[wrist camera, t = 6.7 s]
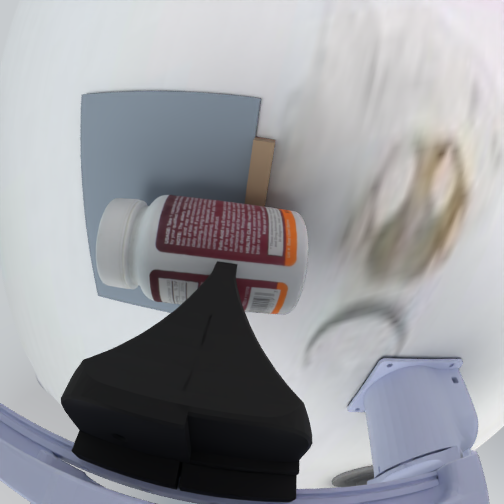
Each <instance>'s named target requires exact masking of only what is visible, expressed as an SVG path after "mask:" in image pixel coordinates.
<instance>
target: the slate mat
mask: <svg viewBox="0 0 504 504" xmlns="http://www.w3.org/2000/svg"><path fill="white" fill-rule="evenodd" d="M260 102H261V98H254V97H246V96H237V95H227V94H215V93H201V92H180V91H128V92H108V93H94V94H83V95H82V100H81V171H82V188H83V200H84V210H85V220H86V228H87V236H88V243H89V249H90V256H91V262H92V267H93V273H94V278H95V283H96V288H97V293H98V296H101V297H105V298H109V299H113V300H117V301H121V302H125V303H129V304H133V305H138V306H142V307H146V308H151V309H155V310H160V311H164V312H169V313H172V312H173V311H174V310H175V309H177V308H178V307H179V306H180V304H172V303H164V302H156V301H153V300H151V299H149V298H148V297H147V296H145V294H144V293H143V291H142V289H141V287H140V286H139V285H138V287H137V288H136V289H125V288H118V287H113V286H108V285H106V284H104V283H103V282H102V281H101V279H100V277H99V274H98V270H97V264H96V241H97V234H98V229H99V224H100V221H101V218H102V215H103V213H104V211H105V209H106V207H107V205H108V204H109V203H110V202H111V201H112V200H113V199H115V198H126V199H139V200H142V201H145V202H146V203H147V205H148V206H150V205H151V203H152V202H153V201H154V200H155V199H156V198H158V197H160V196H163V195H176V196H185V197H194V198H201V199H210V200H219V201H226V202H235V203H242V204H249V205H256V206H263V207H265V202H266V196H267V190H268V184H269V177H270V171H271V165H272V159H273V153H274V146H275V140H273V139H267V138H260V137H255V136H256V129H257V122H258V115H259V108H260Z"/></svg>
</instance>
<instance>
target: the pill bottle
mask: <svg viewBox="0 0 504 504" xmlns="http://www.w3.org/2000/svg"><path fill="white" fill-rule="evenodd" d="M308 250H309V245H308V234H307V228H306V225H305V222H304V220H303V218H302V216H301V215H300V214H299V213H298V212H295V211H290V210H283V209H278V208H272V207H263V206H256V205H249V204H242V203H235V202H226V201H219V200H210V199H201V198H194V197H185V196H176V195H163V196H160V197H158V198H156V199H155V200H154V201H153V202H152V203H151V205H150V206H148V205H147V203H146V202H145V201H142V200H139V199H126V198H115V199H113V200H112V201H111V202H110V203H109V204H108V205H107V207H106V209H105V211H104V213H103V215H102V218H101V221H100V224H99V229H98V234H97V241H96V264H97V270H98V274H99V277H100V279H101V281H102V282H103V283H104V284H106V285H108V286H113V287H118V288H125V289H136V288H137V287H138V285H139V286H140V287H141V289H142V291H143V293H144V294H145V296H147V297H148V298H149V299H151V300H153V301H156V302H164V303H172V304H180V305H181V304H182V303H183V302H184V301H185V300H187V299H188V298H189V297H190V296H191V295H192V294H193V293H194V292H195V291H196V290H197V289H198V288H199V287H200V285H201V284H202V283H203V282H204V281H205V280H206V279H207V278H208V276H209V275H210V274H211V273H212V271H213V269H214V266H215V264H216V263H217V261H220V262H226V263H233V264H238V265H237V272H236V281H237V287H238V291H239V295H240V299H241V302H242V305H243V308H244V311H245V312H257V313H268V314H287V313H289V312H291V311H292V310H293V309H294V307H295V306H296V304H297V302H298V300H299V297H300V294H301V291H302V288H303V284H304V280H305V276H306V271H307V264H308Z"/></svg>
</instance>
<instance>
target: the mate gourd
mask: <svg viewBox="0 0 504 504" xmlns="http://www.w3.org/2000/svg"><path fill="white" fill-rule="evenodd" d="M372 479H374V470H373V466H368V467H363V468H359V469H355V470H351V471H348V472H345V473H342V474H340V475H338V476H336V477H334V478H333V480H332V484H333V485H334V486H337V487H350V486H359V485H367V481H369V480H372Z"/></svg>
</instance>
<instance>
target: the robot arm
mask: <svg viewBox="0 0 504 504" xmlns="http://www.w3.org/2000/svg"><path fill="white" fill-rule="evenodd" d="M237 265H238V264H233V263H226V262H220V261H217V263H216V264H215V266H214V269H213V271H212V273H211V274H210V275H209V276H208V278H207V279H206V280H205V281H204V282H203V283H202V284H201V285H200V287H199V288H198V289H197V290H196V291H195V292H194V293H193V294H192V295H191V296H190V297H189V298H188V299H187V300H185V301H184V302H183V303H182V304H181V305H180V306H179V307H178V308H177V309H175V310H174V311H173V312H172V313H171V314H169V315H168V316H167V317H165V318H164V319H163V320H161V321H160V322H158V323H157V324H155V325H154V326H153V327H151V328H150V329H148V330H147V331H145V332H143V333H142V334H140V335H138V336H136V337H135V338H133V339H131V340H129V341H127V342H125V343H123V344H121V345H119V346H117V347H115V348H113V349H111V350H108V351H106V352H103V353H100V354H98V355H95V356H93V357H90V358H87V359H84V360H83V361H82V362H81V364H80V365H79V367H78V368H77V369H76V371H75V372H74V374H73V376H72V378H71V379H70V381H69V383H68V385H67V387H66V389H65V391H64V393H63V395H62V397H61V404H62V406H63V408H64V410H65V412H66V413H67V414H68V416H69V417H70V418H71V420H72V421H73V422H74V423H75V425H76V426H77V427H78V429H79V430H80V431H79V433H78V436H77V438H76V441H75V443H74V442H72V441H69V440H67V439H65V438H63V437H61V436H58V435H56V434H54V433H52V432H50V431H48V430H46V429H44V428H42V427H41V426H39V425H37V424H35V423H33V422H31V421H30V420H28V419H26V418H24V417H23V416H21V415H19V414H17V413H15V412H14V411H12V410H11V409H9V408H8V407H6V406H4V405H3V404H1V403H0V480H1V481H2V482H3V483H4V484H6V485H7V486H8V487H10V488H11V489H13V490H14V491H15V492H17V493H18V494H19V495H21V496H22V497H24V498H25V499H27V500H28V501H30V502H31V503H30V504H156V503H152V502H148V501H145V500H141V499H138V498H135V497H131V496H128V495H125V494H122V493H118V492H115V491H113V490H109V489H107V488H105V487H103V486H101V485H100V484H98V483H96V482H95V481H93V480H92V479H90V478H89V477H88V476H87V475H86V474H85V472H83V471H81V470H79V469H76V468H75V467H73V466H71V465H69V464H72V465H74V466H76V467H78V468H81V469H83V470H85V471H88V472H90V473H93V474H95V475H98V476H100V477H103V478H105V479H108V480H111V481H114V482H117V483H119V484H122V485H125V486H128V487H132V488H135V489H139V490H142V491H145V492H149V493H152V494H156V495H160V496H164V497H168V498H173V499H177V500H182V501H187V502H192V503H197V504H490V503H489V496H488V490H487V485H486V481H485V476H484V472H483V468H482V465H481V461H480V458H479V455H478V453H477V451H473V450H472V451H471V447H472V446H473V444H474V442H475V440H476V437H477V432H478V417H477V413H476V411H475V408H474V405H473V403H472V400H471V397H470V395H469V392H468V390H467V387H466V385H465V382H464V380H463V378H462V375H461V373H460V371H459V368H460V367H461V365H462V364H463V361H462V359H396V358H383V359H381V360H380V361H379V362H378V363H377V365H376V367H375V368H374V370H373V371H372V373H371V374H370V376H369V377H368V379H367V380H366V382H365V383H364V385H363V386H362V387H361V389H360V390H359V392H358V393H357V395H356V396H355V397H354V399H353V400H352V402H351V403H350V404H349V406H348V407H347V409H348V411H349V412H366V419H367V425H368V432H369V439H370V446H371V454H372V462H373V470H374V479H372V480H369V481H367V485H359V486H350V487H338V488H320V489H296V475H297V474H299V460H300V459H301V458H302V456H303V455H304V454H305V453H306V452H307V451H308V450H309V448H310V447H311V445H312V432H311V427H310V422H309V418H308V415H307V411H306V408H305V405H304V403H303V402H302V401H301V400H300V398H299V397H298V396H297V395H296V394H295V393H294V392H293V391H292V390H291V388H290V387H289V386H288V385H287V384H286V383H285V381H284V380H283V379H282V377H281V376H280V375H279V373H278V372H277V371H276V370H275V368H274V367H273V365H272V363H271V362H270V360H269V359H268V357H267V356H266V354H265V353H264V351H263V350H262V348H261V346H260V344H259V342H258V341H257V339H256V337H255V335H254V333H253V331H252V329H251V326H250V324H249V322H248V319H247V317H246V314H245V311H244V308H243V305H242V302H241V299H240V295H239V291H238V287H237V281H236V272H237ZM62 460H63V461H62ZM64 461H65V462H64ZM66 462H67V463H66ZM68 463H69V464H68Z"/></svg>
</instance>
